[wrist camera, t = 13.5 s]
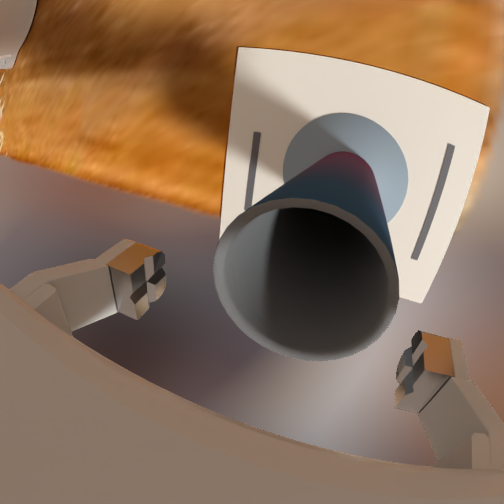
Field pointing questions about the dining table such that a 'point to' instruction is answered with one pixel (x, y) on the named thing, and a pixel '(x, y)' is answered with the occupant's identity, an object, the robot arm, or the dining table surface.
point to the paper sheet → (356, 145)
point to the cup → (312, 263)
